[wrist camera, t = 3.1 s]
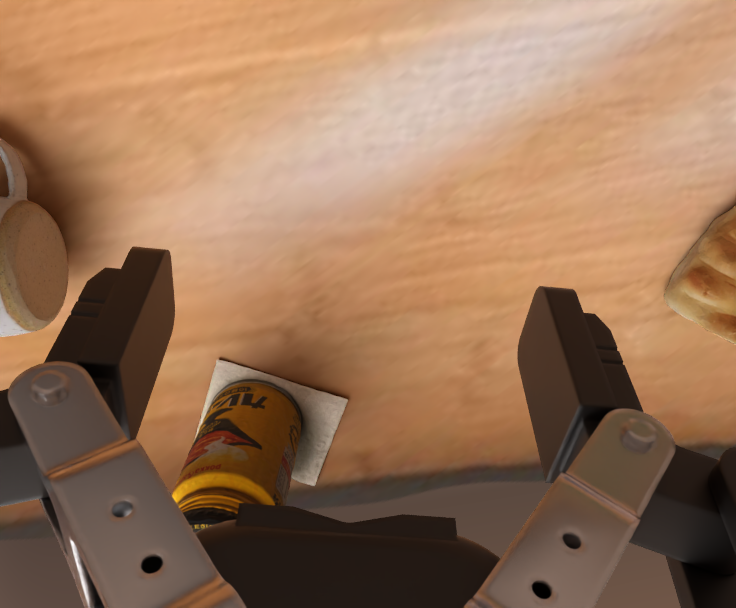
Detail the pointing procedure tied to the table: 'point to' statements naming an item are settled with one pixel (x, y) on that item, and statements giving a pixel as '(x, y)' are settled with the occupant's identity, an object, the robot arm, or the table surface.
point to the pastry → (709, 280)
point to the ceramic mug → (28, 257)
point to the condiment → (253, 443)
